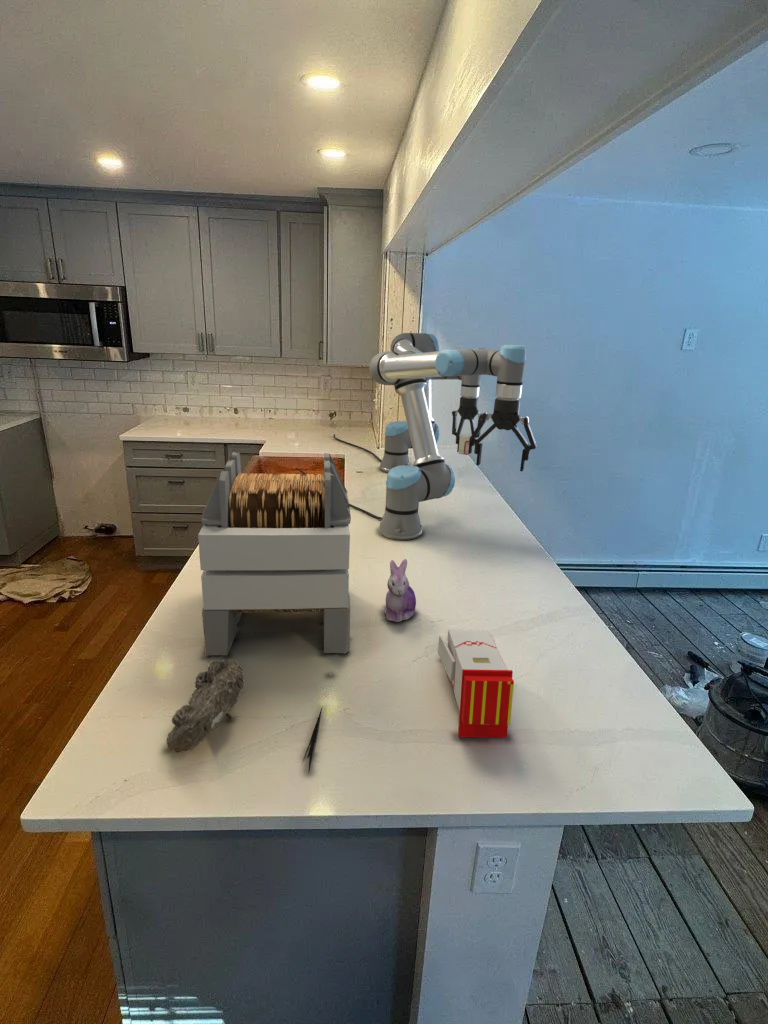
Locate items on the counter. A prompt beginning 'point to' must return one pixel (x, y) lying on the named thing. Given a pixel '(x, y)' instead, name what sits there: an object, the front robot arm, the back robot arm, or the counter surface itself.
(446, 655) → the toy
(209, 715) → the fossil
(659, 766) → the counter surface
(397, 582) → the figurine
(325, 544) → the record storage crate
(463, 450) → the small box
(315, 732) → the feather
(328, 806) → the counter surface
